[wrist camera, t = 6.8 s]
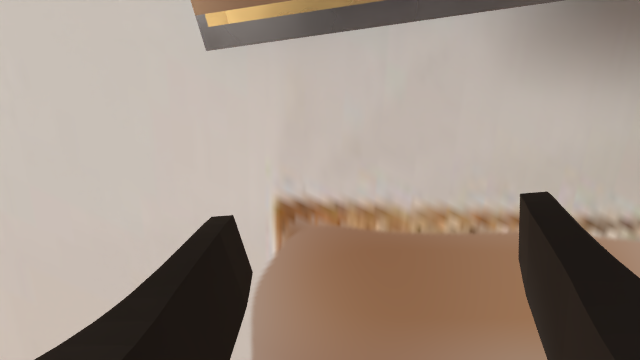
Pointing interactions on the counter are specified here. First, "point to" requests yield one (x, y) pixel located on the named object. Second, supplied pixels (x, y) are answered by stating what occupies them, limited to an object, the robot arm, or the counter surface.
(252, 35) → the grey slotted tray
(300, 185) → the counter surface
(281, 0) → the brown wooden block
